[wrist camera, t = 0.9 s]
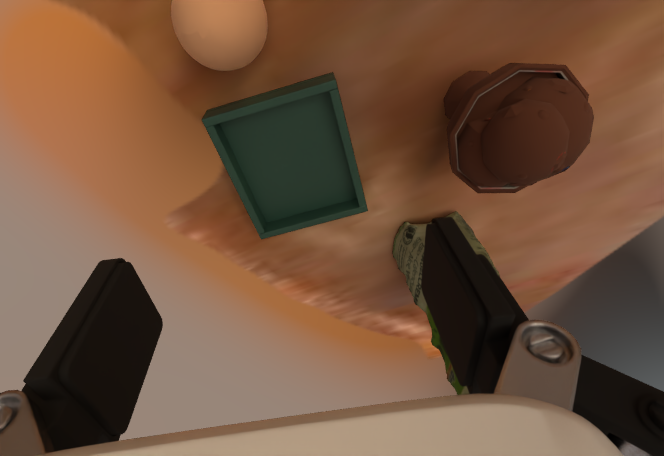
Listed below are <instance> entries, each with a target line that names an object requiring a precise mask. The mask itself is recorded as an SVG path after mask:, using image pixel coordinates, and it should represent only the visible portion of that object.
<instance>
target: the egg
mask: <svg viewBox="0 0 664 456" xmlns="http://www.w3.org/2000/svg"><path fill="white" fill-rule="evenodd" d="M171 18H172V23H173V28H174V31H175V33H176V36H177V38H178V40H179V42H180V44H181V45H182V46H183V48H184V49H185V51H186V52H187V53H188V54H189V55H190V56H191V57H192V58H193V59H195V60H196V61H198V62H199V63H200V64H202V65H204V66H206V67H209V68H211V69H214V70H220V71H232V70H236V69H240V68H243V67H244V66H246V65H248V64H249V63H251V62H252V61H253V60H254V59H255V58H256V57H257V56H258V54H259V53H260V52H261V50H262V48H263V46H264V43H265V41H266V36H267V30H268V22H267V13H266V10H265V6H264V3H263V0H172V2H171Z"/></svg>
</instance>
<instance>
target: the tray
mask: <svg viewBox="0 0 664 456" xmlns="http://www.w3.org/2000/svg"><path fill="white" fill-rule="evenodd" d="M202 122H203V124H204V126H205V127H206V130H207V132H208V134H209V136H210V138H211V139H212V142H213V144H214V146H215V148H216V149H217V152H218V154H219V156H220V158H221V160H222V162H223V164H224V166H225V168H226V170H227V172H228V174H229V176H230V178H231V180H232V182H233V184H234V186H235V188H236V190H237V192H238V194H239V196H240V198H241V200H242V202H243V204H244V206H245V208H246V210H247V212H248V214H249V216H250V218H251V220H252V222H253V224H254V226H255V228H256V230H257V232H258V234H259V236H260V238H261V239H264V238H268V237H272V236H276V235H279V234H283V233H287V232H291V231H295V230H298V229H302V228H306V227H310V226H313V225H317V224H321V223H325V222H328V221H332V220H336V219H340V218H343V217H347V216H351V215H355V214H358V213H362V212H366V211H368V209H367V205H366V201H365V197H364V193H363V189H362V185H361V181H360V176H359V172H358V168H357V164H356V160H355V156H354V152H353V148H352V144H351V140H350V136H349V132H348V128H347V123H346V119H345V115H344V111H343V107H342V103H341V99H340V95H339V91H338V87H337V83H336V79H335V76H334V73H333V72H332V73H329V74H325V75H322V76H319V77H315V78H312V79H309V80H305V81H302V82H299V83H295V84H292V85H289V86H285V87H282V88H279V89H276V90H272V91H269V92H266V93H262V94H259V95H256V96H252V97H249V98H246V99H242V100H239V101H236V102H232V103H229V104H226V105H222V106H219V107H216V108H213V109H209V110H207V111H206V113H205V115H204V117H203V118H202Z"/></svg>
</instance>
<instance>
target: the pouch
mask: <svg viewBox="0 0 664 456" xmlns="http://www.w3.org/2000/svg"><path fill="white" fill-rule="evenodd" d="M446 217H452V218H453V219H454V221H455V222H456V224H457V225H458V227H459V228H460V230H461V231H462V233H463V234H464V236H465V238H466V239H467V241H468V242H469V244H470V245H471V247H472V248H473V250H474V251H475V253H476V254H483V255H484V256H485V257H486V258H487V259H488V260H489V262H490V263H491V265H492V266H493V268H494V269H495V271H496V272H497V274H498V275H499V272H498V271H497V270H496V268H495V267H494V265H493V262H492V260H491V259H490V257H489V255H488V253H487V252H486V250H485V248H484V247H483V246H482V245H481V243H480V242H479V241H478V239H477V238H476V237H475V235H474V232H473V230H472V229H471V228H470V227H469V226H468V224H467V223H466V222H465V220H464V219H463V218H462V216H460V215H459V214H458V212H457V211H455V212H453V213H452V214H450V215H448V216H446ZM431 223H432V222H431ZM431 223H428V224H431ZM426 226H427V224H410V223H408V222H404V224H403V225H402V226H401V227H400V228H399V231H398V233H397V234H396V236H395V238H394V245H393V251H392V252H393V257H394V258H395V259H396V261H397V265H398V269H399V270H400V271H401V272H403V273H404V275H405V276H406V283H407V285H408V286H409V290H410V292H411V293H412V296H413V298H414V302H415V304H416V305H418V306H419V307H420V308H421V309H422V310H423V311H424V312H426V314H427V317H428V320H429V323H430V326H431V328H432V339H431V342H432V345H433V346H435V347H436V348H437V349H439V350H440V352H441V354H442V357H443V359H444V362H445V366H446V373H447V379H448V381H449V382H450V383H451V385H452V386H453V387H454V388H455V390H456V392H457V395H466V394H469V391H468V389H467V387H466V386H463V387H462V386H461V385H460V384H459V382H458V379H457V377H456V374H455V372H454V370H453V367H452V365H451V362H450V360H449V357H448V355H447V352H446V350H445V347H444V345H443V343H442V340H441V338H440V335H439V333H438V330H437V328H436V325H435V323H434V320H433V318H432V316H431V313H430V311H429V308H428V306H427V303H426V301H425V298H424V296H423V293H422V288H421V280H422V268H423V257H424V245H425V234H426Z"/></svg>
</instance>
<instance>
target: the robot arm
mask: <svg viewBox="0 0 664 456" xmlns="http://www.w3.org/2000/svg"><path fill="white" fill-rule="evenodd" d="M421 288H422V293H423V296H424V298H425V301H426V303H427V306H428V308H429V311H430V313H431V316H432V318H433V320H434V323H435V325H436V328H437V330H438V333H439V335H440V338H441V340H442V343H443V345H444V347H445V350H446V352H447V355H448V357H449V360H450V362H451V365H452V367H453V370H454V372H455V374H456V377H457V379H458V382H459V384H460V385H461V386H462V387H463V386H466V387H467V389H468V391H469V394H466V395H452V396H443V397H434V398H425V399H417V400H408V401H400V402H392V403H385V404H377V405H370V406H363V407H355V408H348V409H340V410H333V411H326V412H318V413H310V414H304V415H296V416H289V417H282V418H275V419H267V420H261V421H253V422H246V423H239V424H232V425H224V426H217V427H210V428H203V429H197V430H189V431H183V432H176V433H169V434H162V435H155V436H148V437H141V438H134V439H127V440H121V441H119V438H120V435H121V434H123V433H124V432H125V431H126V430H127V427H128V425H129V422H130V419H131V416H132V414H133V411H134V408H135V405H136V402H137V399H138V396H139V393H140V390H141V388H142V385H143V382H144V379H145V376H146V374H147V371H148V368H149V365H150V362H151V359H152V356H153V353H154V351H155V348H156V345H157V342H158V339H159V336H160V333H161V331H162V326H163V324H162V318H161V316H160V314H159V313H158V311H157V309H156V307H155V305H154V303H153V302H152V300H151V298H150V296H149V294H148V293H147V291H146V289H145V287H144V285H143V284H142V282H141V280H140V278H139V277H138V275H137V273H136V271H135V269H134V267H133V266H132V264H131V263H130V262H126V261H125V260H124V259H122V258H118V259H110V260H103V261H100V262H99V263H98V265H97V266H96V268H95V270H94V271H93V273H92V274H91V276H90V277H89V279H88V280H87V282H86V284H85V285H84V287H83V288H82V290H81V291H80V293H79V294H78V296H77V297H76V299H75V301H74V302H73V304H72V305H71V307H70V308H69V310H68V312H67V313H66V315H65V316H64V318H63V320H62V321H61V323H60V324H59V326H58V327H57V329H56V330H55V332H54V334H53V335H52V336H51V338H50V340H49V341H48V343H47V344H46V346H45V347H44V349H43V351H42V352H41V354H40V355H39V357H38V358H37V360H36V362H35V363H34V365H33V366H32V368H31V369H30V371H29V373H28V374H27V376H26V377H25V379H24V382H25V383H26V384H25V386H24V387H23V389H22V391H19V390H8V391H5V392H2V393H0V456H664V392H663V391H661V390H658V389H656V388H654V387H652V386H649V385H647V384H645V383H643V382H640V381H639V380H636V379H634V378H632V377H630V376H627V375H625V374H623V373H621V372H618V371H616V370H614V369H612V368H609V367H607V366H605V365H603V364H601V363H599V362H596V361H594V360H592V359H590V358H587V357H585V356H583V355H581V348H580V346H579V344H578V342H577V340H576V339H575V338H574V337H573V336H572V335H571V333H569V332H568V331H566V330H565V329H564V328H562V327H560V326H558V325H556V324H554V323H552V322H548V321H544V320H528V318H527V317H526V315H525V314H524V312H523V311H522V309H521V308H520V306H519V305H518V303H517V302H516V300H515V299H514V297H513V296H512V294H511V293H510V291H509V290H508V289H507V287H506V286H505V284H504V283H503V281H502V280H501V278H500V277H499V275H498V274H497V272H496V271H495V269H494V268H493V266H492V265H491V263H490V262H489V260H488V259H487V258H486V257H485V256H484V255H483V254H476V253H475V251H474V250H473V248H472V247H471V245H470V244H469V242H468V241H467V239H466V238H465V236H464V234H463V233H462V231H461V230H460V228H459V227H458V225H457V224H456V222H455V221H454V219H453V218H452V217H443V218H435V219H433V220H432V223H431V224H427V226H426V234H425V245H424V257H423V268H422V280H421Z"/></svg>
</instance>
